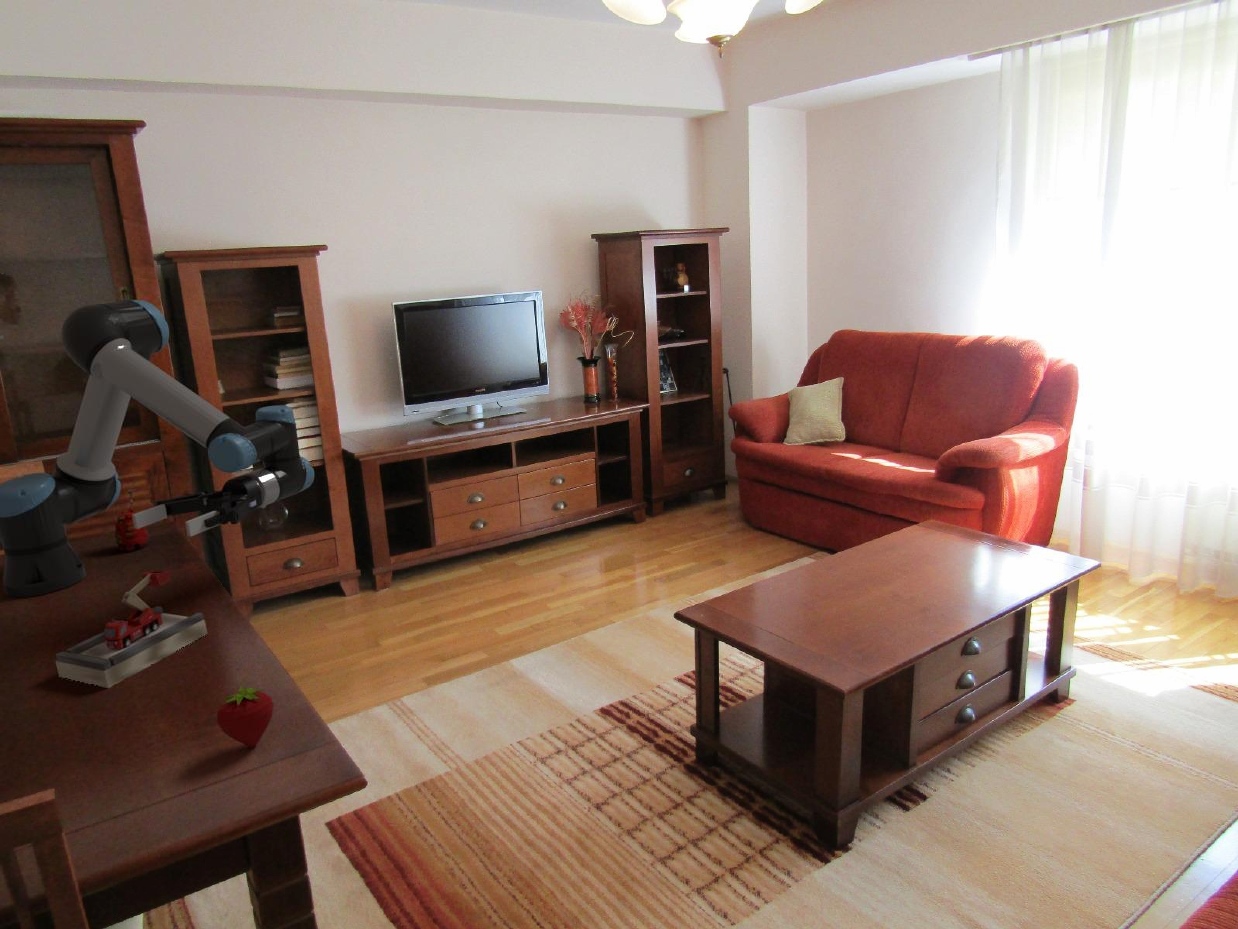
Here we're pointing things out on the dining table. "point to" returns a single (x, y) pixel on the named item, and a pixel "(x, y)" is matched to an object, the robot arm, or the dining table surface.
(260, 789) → the dining table surface
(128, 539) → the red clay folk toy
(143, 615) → the toy fire truck
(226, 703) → the strawberry
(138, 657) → the dock
